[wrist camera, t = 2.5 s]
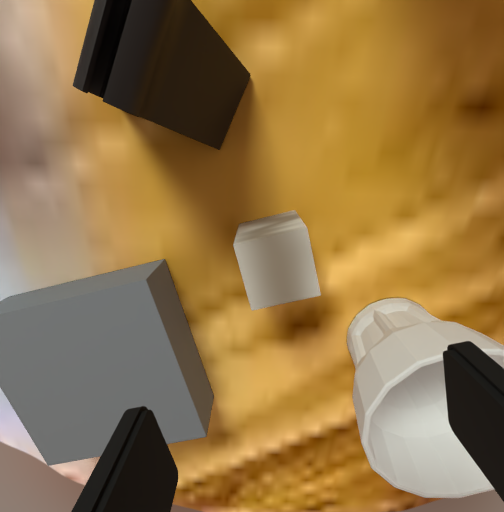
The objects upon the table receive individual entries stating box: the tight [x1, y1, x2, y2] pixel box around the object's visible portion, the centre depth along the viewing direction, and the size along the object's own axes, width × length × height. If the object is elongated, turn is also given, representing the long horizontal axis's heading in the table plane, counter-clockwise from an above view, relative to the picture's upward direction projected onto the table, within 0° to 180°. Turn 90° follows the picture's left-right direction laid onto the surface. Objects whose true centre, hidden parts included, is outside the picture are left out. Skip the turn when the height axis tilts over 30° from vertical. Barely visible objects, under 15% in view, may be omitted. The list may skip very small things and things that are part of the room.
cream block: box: [233, 210, 321, 310], centre depth 24 cm, size 5×5×7 cm
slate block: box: [0, 259, 214, 466], centre depth 29 cm, size 16×16×5 cm
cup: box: [347, 298, 504, 498], centre depth 25 cm, size 12×12×11 cm
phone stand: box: [73, 0, 251, 150], centre depth 18 cm, size 9×6×12 cm, turn 64°
